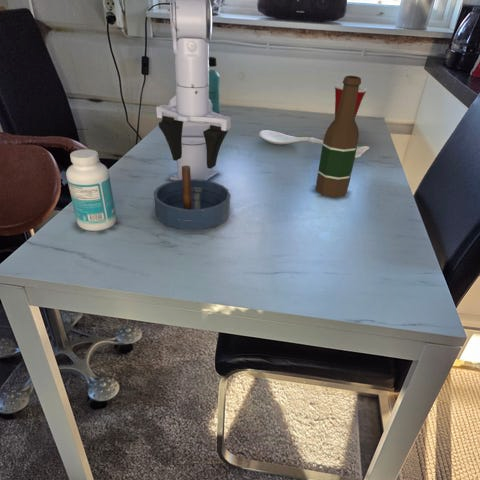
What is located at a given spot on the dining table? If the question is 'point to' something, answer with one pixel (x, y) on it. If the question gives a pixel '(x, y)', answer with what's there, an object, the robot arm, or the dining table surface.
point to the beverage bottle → (214, 85)
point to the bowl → (192, 204)
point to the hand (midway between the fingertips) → (194, 162)
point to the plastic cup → (339, 91)
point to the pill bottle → (91, 191)
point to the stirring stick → (186, 187)
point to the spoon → (297, 140)
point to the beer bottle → (340, 144)
